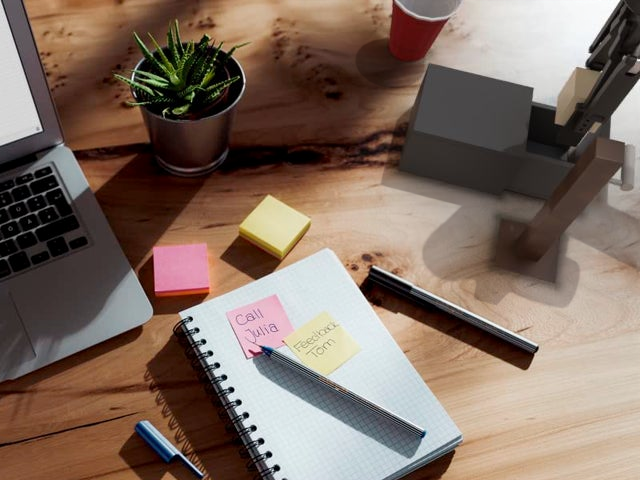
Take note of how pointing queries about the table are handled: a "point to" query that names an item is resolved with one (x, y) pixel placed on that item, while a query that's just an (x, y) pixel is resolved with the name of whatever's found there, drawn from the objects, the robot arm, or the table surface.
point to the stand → (558, 213)
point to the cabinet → (467, 129)
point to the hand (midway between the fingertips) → (567, 126)
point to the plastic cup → (418, 25)
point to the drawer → (558, 156)
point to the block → (575, 94)
